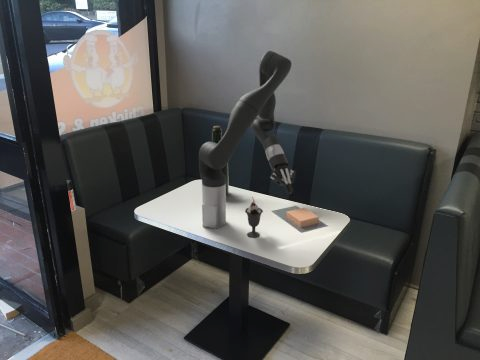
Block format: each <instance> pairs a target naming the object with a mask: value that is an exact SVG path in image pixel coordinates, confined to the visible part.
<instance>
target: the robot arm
mask: <svg viewBox="0 0 480 360" xmlns="http://www.w3.org/2000/svg"><path fill="white" fill-rule="evenodd" d="M291 68H292V62H291V59H289V58H287V57H285V56H283V55H281V54H279V53H277V52H275V51H272V50H268V51H266V52H265V53H264V54H263V55H262V57H261V59H260V62H259V69H258V73H259V74H258V75H259V76H258V77H259V78H258V79H259V80H258V81H259V87H258V88H255V89H252V90H251V91H249V92H247V93H245V94H244V95H242V96H241V97H240V98H239V99H238V101H237V102H236V104H234V106H233V108H232V109H231V112H230V114H229V118H228V123H227V128H226V131H225V132H224V135H223V136H222V139H221V140H220V141H219V143H218V144H217V143H215V142H212V141H206V142H205V143H203V144H202V145H201V147H200V148H199V152H198V169H199V176H200V179H201V189H202V190H201V191H202V192H201V193H202V202H201V203H202V205H201V210H202V211H201V212H202V213H201V218H202V220H201V221H202V227H205V228H210V229H214V230H217V229H218V228H222V227H224V226H225V225H226V224H227V213H226V212H227V210H226V209H227V208H226V207H227V206H226V205H227V203H226V202H227V200H226V199H227V196H226V178H225V175H224V174H223V172H222V170H221V169H222V168H223V167H224V166H226V164H227V163H228V164H229V161H231V158H232V156H233V155H234V153H235V151H236V149H237V147H238V146H239V143H240V142H241V141H242V138H244V137H245V134H246V133H247V131H248V130H249V129H250V127H251V130H252V132H253V134H254V135H255V137H256V138H257V139H258V140H259V141H260V143H261V144H262V147H263V149H264V151H265V155H266V159H267V161H268V163H269V166H270V169H271V170H272V174H271V175H270V177H269V179H270V180H271V181H273V183H275V184H277V185H278V186H280V187H282V186H283V187H284V190H285V192H286V193H287V194H288V195H291V194H293V193H294V187H293V185H292V184H293V183H294V182H295V179H296V175H297V173H298V172H297V170H295V169H294V170H292V169H291V167H290V166H289V162H288V160H287V157H286V155H285V152H284V149H283V148H282V146H281V145H280V144H281V143H280V141H279V138H278V137H277V135H276V134H273V133H272V132H274V131H275V128H276V122H275V109H276V104H277V100H276V94H275V91H277V89H278V88H279V87H280V85H281V84H282V83H283V82H284V80H285V79H286V77H287V76H288V75H289V73H290V71H291ZM258 117H259V118H258ZM271 133H272V134H271Z"/></svg>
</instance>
